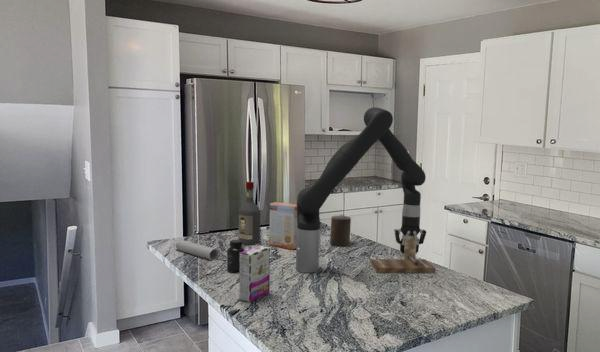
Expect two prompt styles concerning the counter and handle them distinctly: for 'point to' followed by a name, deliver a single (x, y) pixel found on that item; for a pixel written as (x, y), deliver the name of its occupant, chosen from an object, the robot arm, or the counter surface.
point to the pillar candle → (340, 231)
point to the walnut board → (401, 266)
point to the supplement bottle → (234, 256)
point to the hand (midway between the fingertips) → (409, 252)
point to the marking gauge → (410, 249)
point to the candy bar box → (254, 273)
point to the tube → (197, 250)
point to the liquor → (249, 218)
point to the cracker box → (283, 225)
